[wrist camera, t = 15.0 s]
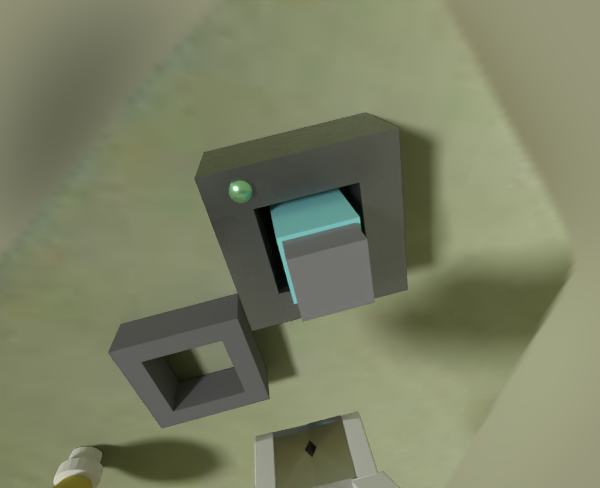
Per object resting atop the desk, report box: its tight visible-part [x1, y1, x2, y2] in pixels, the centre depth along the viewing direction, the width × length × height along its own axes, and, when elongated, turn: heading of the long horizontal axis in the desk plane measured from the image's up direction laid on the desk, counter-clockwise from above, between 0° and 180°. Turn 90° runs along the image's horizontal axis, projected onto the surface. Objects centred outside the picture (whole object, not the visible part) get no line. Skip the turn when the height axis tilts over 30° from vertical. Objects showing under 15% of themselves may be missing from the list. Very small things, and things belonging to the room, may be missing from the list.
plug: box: [269, 188, 375, 322], centre depth 17 cm, size 4×4×8 cm
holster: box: [108, 294, 270, 428], centre depth 24 cm, size 8×8×2 cm
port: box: [194, 113, 408, 331], centre depth 19 cm, size 9×9×5 cm
